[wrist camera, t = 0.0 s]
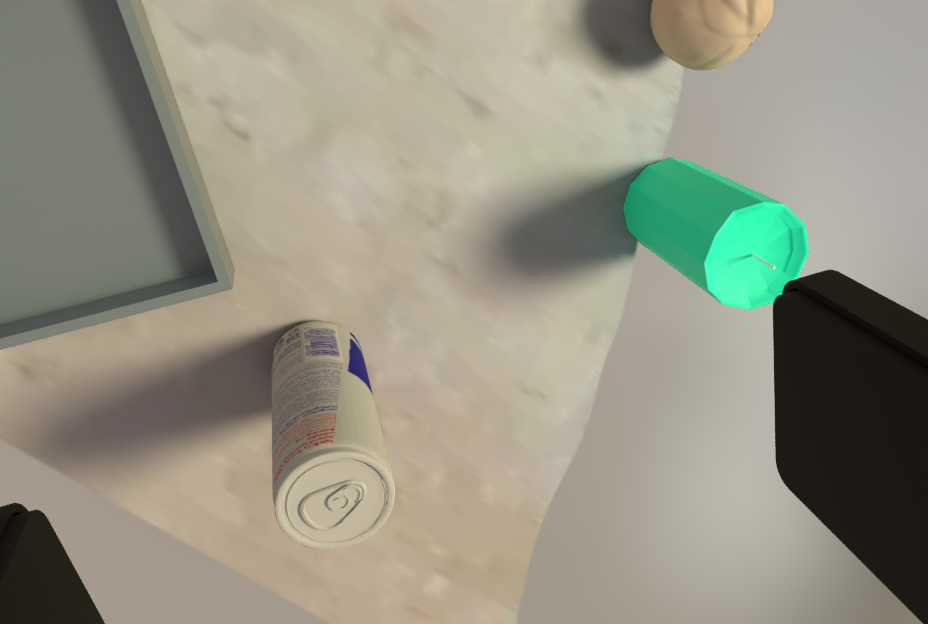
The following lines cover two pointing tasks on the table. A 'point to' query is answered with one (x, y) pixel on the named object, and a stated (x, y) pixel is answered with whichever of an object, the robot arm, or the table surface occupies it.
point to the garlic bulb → (707, 29)
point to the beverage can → (326, 440)
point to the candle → (716, 232)
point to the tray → (95, 174)
